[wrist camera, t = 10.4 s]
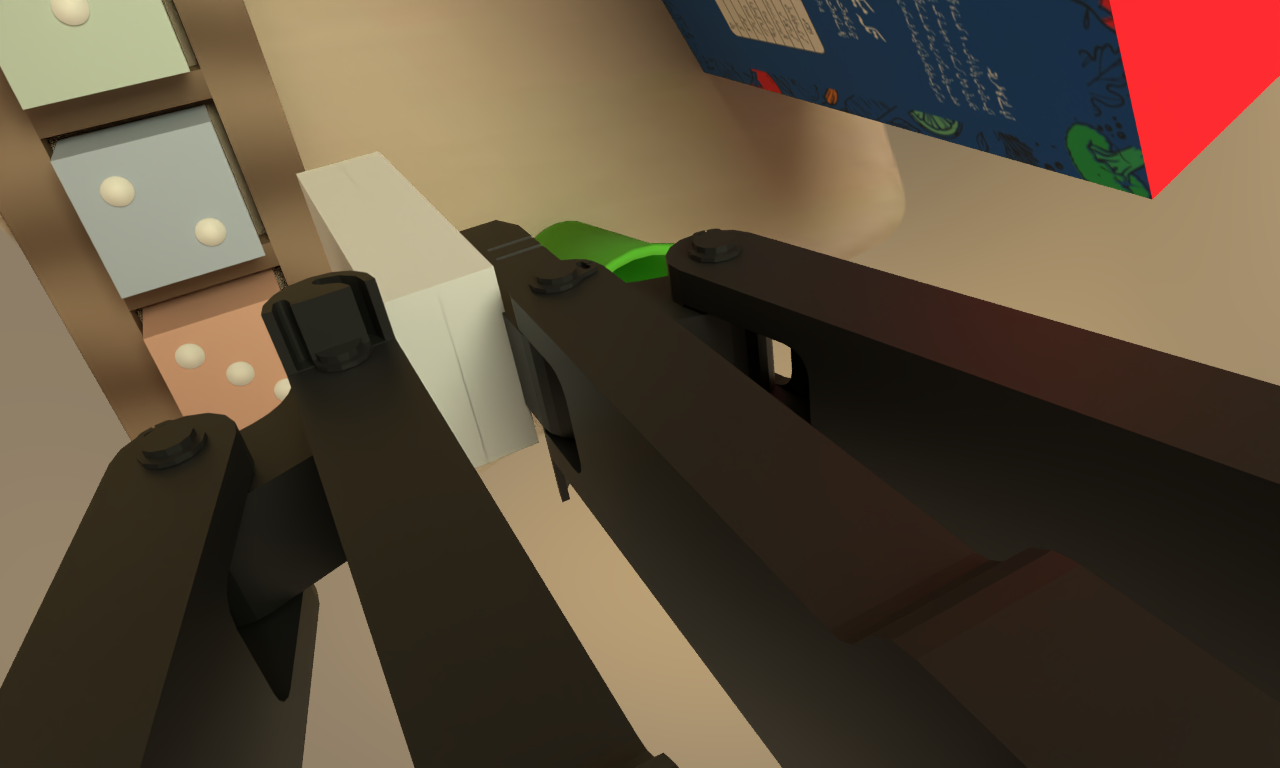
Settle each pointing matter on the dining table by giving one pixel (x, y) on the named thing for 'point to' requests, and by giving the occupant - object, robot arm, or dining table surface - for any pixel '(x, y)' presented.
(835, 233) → the dining table surface
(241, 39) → the board
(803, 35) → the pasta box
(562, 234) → the cup
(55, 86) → the pale green block
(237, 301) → the peach block
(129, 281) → the grey block
